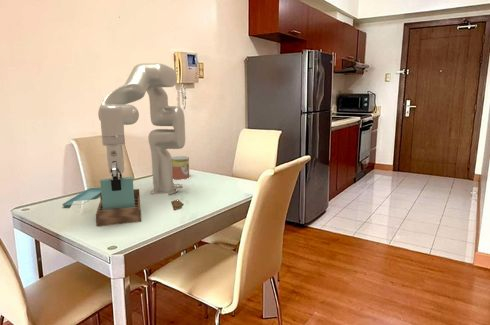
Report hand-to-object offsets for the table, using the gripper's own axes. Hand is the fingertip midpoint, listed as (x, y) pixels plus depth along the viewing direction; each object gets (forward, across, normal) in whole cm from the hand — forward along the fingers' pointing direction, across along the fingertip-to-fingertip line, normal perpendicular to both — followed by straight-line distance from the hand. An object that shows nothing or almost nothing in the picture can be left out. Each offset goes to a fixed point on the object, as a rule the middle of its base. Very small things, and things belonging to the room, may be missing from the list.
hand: (117, 187), depth 126 cm
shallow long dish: (+15, +40, +16) cm, 46 cm away
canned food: (+15, +71, -31) cm, 79 cm away
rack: (+14, +7, 0) cm, 16 cm away
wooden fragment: (+15, +14, -19) cm, 28 cm away
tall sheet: (+13, 0, 0) cm, 13 cm away
